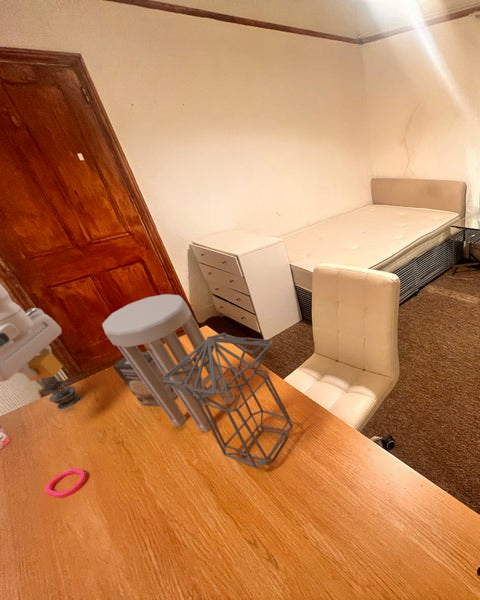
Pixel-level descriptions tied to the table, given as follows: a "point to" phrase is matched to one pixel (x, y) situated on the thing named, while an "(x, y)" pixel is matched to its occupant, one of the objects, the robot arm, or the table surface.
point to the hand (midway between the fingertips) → (43, 368)
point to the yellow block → (44, 366)
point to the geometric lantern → (203, 353)
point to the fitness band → (70, 491)
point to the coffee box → (139, 380)
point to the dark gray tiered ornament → (60, 392)
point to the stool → (163, 351)
